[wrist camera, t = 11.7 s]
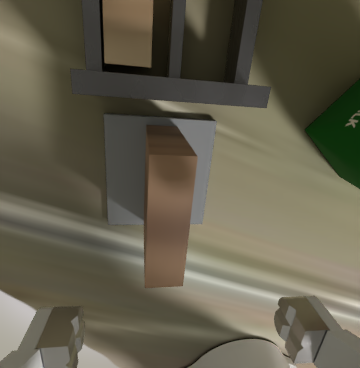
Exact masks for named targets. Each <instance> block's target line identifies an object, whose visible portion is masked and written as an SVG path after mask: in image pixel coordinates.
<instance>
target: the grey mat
mask: <svg viewBox="0 0 360 368" xmlns="http://www.w3.org/2000/svg"><path fill="white" fill-rule="evenodd" d="M216 123H217V121H215V120H204V119H188V118H172V117H157V116H141V115H125V114H109V113H104V135H105V159H106V184H107V209H108V225H144V190H145V153H146V125H159V126H177V127H178V128H179V130H180V131H181V133H182V134H183V136H184V137H185V139H186V140H187V141H188V143H189V144H190V146H191V147H192V149H193V150H194V152H195V153H196V154H197V156H198V160H197V168H196V177H195V185H194V194H193V203H192V211H191V220H190V224H202V222H203V215H204V208H205V201H206V194H207V187H208V179H209V172H210V165H211V158H212V151H213V144H214V137H215V130H216Z"/></svg>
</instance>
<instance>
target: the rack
mask: <svg viewBox="0 0 360 368" xmlns="http://www.w3.org/2000/svg"><path fill="white" fill-rule="evenodd" d="M262 1H263V0H235V6H234V13H233V20H232V27H231V34H230V41H229V48H228V55H227V62H226V69H225V76H224V82H214V81H203V80H192V79H181V78H180V72H181V59H182V46H183V33H184V20H185V7H186V0H171V5H170V23H169V40H168V58H167V76H166V77H159V76H148V75H137V74H126V73H115V72H106V63H105V60H104V31H103V2H102V0H82V11H83V26H84V42H85V58H86V70H80V69H70V70H71V81H72V93H73V94H83V95H97V96H110V97H123V98H137V99H150V100H164V101H177V102H191V103H204V104H217V105H231V106H244V107H258V108H267V103H268V99H269V94H270V89H271V87H267V86H257V85H248V79H249V74H250V68H251V63H252V57H253V51H254V46H255V40H256V35H257V29H258V24H259V18H260V13H261V7H262Z"/></svg>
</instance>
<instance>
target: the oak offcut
mask: <svg viewBox="0 0 360 368" xmlns="http://www.w3.org/2000/svg"><path fill="white" fill-rule="evenodd" d="M102 2H103V31H104V60H105V63H106V64H109V65H120V66H130V67H140V68H151V53H152V23H153V0H102Z"/></svg>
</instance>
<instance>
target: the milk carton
mask: <svg viewBox="0 0 360 368" xmlns="http://www.w3.org/2000/svg"><path fill="white" fill-rule="evenodd" d="M305 131H306V132H307V134H308V135H309V136H310V138H311V139H312V140H313V142H314V143H315V144H316V146H317V147H318V148H319V150H320V151H321V152H322V154H323V155H324V156H325V158H326V159H327V160H328V162H329V163H330V164H331V166H332V167H333V168H334V170H335V171H336V172H337V174H338V175H339V176H340V177H341V178H343V179H344V180H346V181H348V182H349V183H351V184H353V185H354V186H356V187H358V188H359V189H360V79H359V80H358V81H357V82H356V83H355V84H354V85H353V86H352V87H351V88H349V89H348V90H347V91H346V92H345V93H344V94H343V95H342V96H341V97H340V98H339V99H338V100H336V101H335V102H334V103H333V104H332V105H331V106H330V107H329V108H328V109H327V110H326V111H325V112H323V113H322V114H321V115H320V116H319V117H318V118H317V119H316V120H315V121H314V122H313V123H312V124H310V125H309V126H308V127H307V128H306V129H305Z"/></svg>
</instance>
